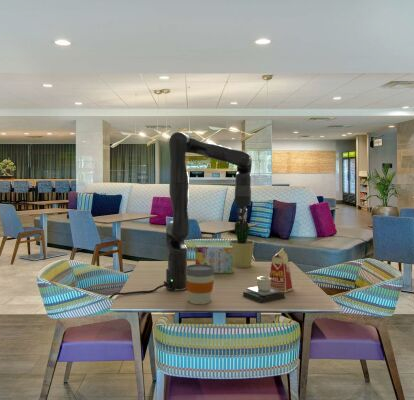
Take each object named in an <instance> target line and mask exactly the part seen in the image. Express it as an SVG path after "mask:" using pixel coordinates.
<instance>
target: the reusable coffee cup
mask: <svg viewBox="0 0 414 400" xmlns="http://www.w3.org/2000/svg"><path fill="white" fill-rule="evenodd" d="M185 274H186V277H187V279H186V284H187V289H186V290H187V292H188V301H189V303H191V304H194V305H206V304H209V303H210V302H211V297H212V291H213V288H214V275H215V273H214V267H213V266H211V265H205V264H195V263H193V264H189V265H187V266H186V273H185Z"/></svg>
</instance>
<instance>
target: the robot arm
mask: <svg viewBox="0 0 414 400" xmlns="http://www.w3.org/2000/svg"><path fill="white" fill-rule="evenodd" d="M168 148H169V158H170V159H169V161H170V163H169V164H170V165H169V182H168V183H169V185H168V187H169V190H168V191H169V198H170V202H171V206H172V214H173V215H172V220H170V221H169V222H168V224H167V225H166V227H165V229H166V230H165V238H166V239H165V241H166V249H167V268H166V269H165V273H166V275H165V276H166V277H165V279H166V280H164V281H163V284H161V285H158V286H157V287H155V288H154V289H151V290H137V291H127V292H114V293H112V294H111V295H110V296H109V298H108V300H109V299H110V300H111V299H112V298H114V297H115V296H118V295H119V296H127V295H135V294H148V293H149V294H150V293H153V292H156V291H158V290H159V289H161V288H163V287H165V288H166V289H167V290H169V291H172V292H175V291H176V292H179V291H185V290H187V284H186V279H187V277H186V274H185V273H186V266H188V248H187V246H186V244H185V240H186V239H187V237H188V236H189V234H190V222H189V190H190V187H189V186H190V185H189V183H190V181H189V180H190V179H189V174H188V173H189V172H188V168H187V164H186V163H187V162H186V156H187V153H189V154H196V155H200V156H203V157H205V158H209V159H211V160H215V161H219V162H222V163H228V164H231V165H234V166H236V174H235V185H234V206H237V207H239V208H237V220H238V223H239V231H243V230H244V229H245V228H246V221H247V219H248V207H249V206H251V205H252V184H251V183H252V177H251V175H252V174H251V173H252V164H253V159H252V156H251V154H250V153H248V152H246V151H243V150H239V149H234V148H230V147H227V146H223V145H220V144H216V143H210V142H204V141H201V140H197V139H196V138H193V137H191V136H189V135H188V134H186V133H184V132H181V131H175V132H173V133H172V134H171V135H170V136H169V139H168ZM247 206H248V207H247Z"/></svg>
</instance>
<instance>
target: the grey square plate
mask: <svg viewBox="0 0 414 400" xmlns="http://www.w3.org/2000/svg"><path fill="white" fill-rule="evenodd" d="M246 291H251V292H254V293H257V294H260V295H262V296H264V295H269V294H274V293H279V292H281V290H279V289H276V288H273V287H271V288H270V290H267V291H262V290H259V289H258V288H257V285H256V286H251V287H246ZM281 293H282V292H281Z"/></svg>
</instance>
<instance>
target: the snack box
mask: <svg viewBox="0 0 414 400" xmlns="http://www.w3.org/2000/svg"><path fill="white" fill-rule="evenodd" d="M194 255H195V256H194V257H195V258H194V259H195V262H194V264H205V265H211V266H213V267H214V274H233V273H234V271H233V270H234V269H233V267H234V266H233V246H230V245H196V246H195V254H194Z"/></svg>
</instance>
